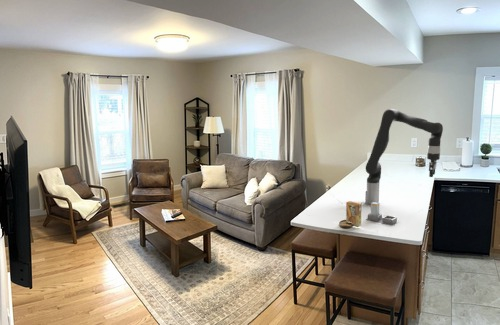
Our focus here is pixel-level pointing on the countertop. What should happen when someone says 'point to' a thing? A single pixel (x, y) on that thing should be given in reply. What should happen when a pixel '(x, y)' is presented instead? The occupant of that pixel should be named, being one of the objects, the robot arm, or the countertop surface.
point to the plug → (374, 208)
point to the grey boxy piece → (383, 219)
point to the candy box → (353, 212)
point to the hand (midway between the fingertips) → (432, 175)
